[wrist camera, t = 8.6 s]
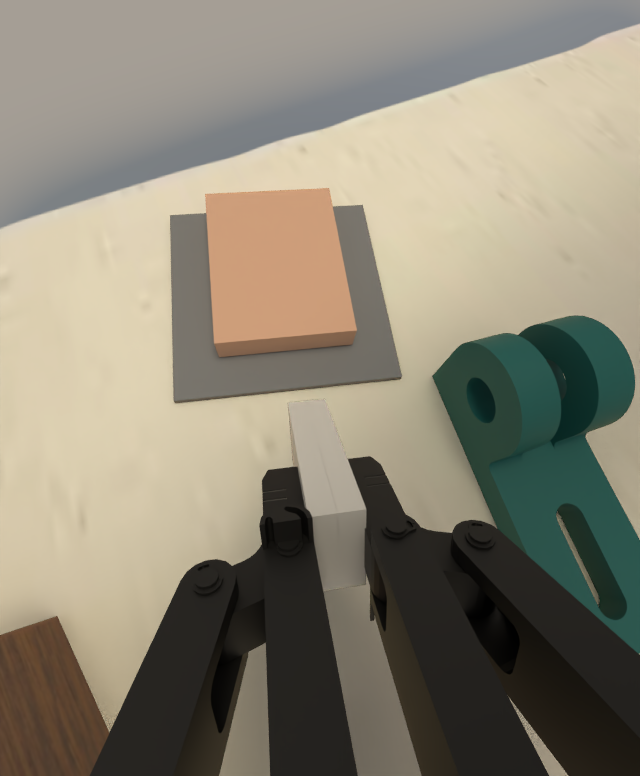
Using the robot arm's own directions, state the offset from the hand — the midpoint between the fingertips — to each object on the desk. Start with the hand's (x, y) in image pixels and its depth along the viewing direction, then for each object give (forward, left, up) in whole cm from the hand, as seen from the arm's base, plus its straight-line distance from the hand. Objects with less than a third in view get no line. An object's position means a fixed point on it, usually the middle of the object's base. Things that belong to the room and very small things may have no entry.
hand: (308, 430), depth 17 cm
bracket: (-15, +3, -10) cm, 18 cm away
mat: (0, -13, -9) cm, 16 cm away
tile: (0, -8, -8) cm, 11 cm away
